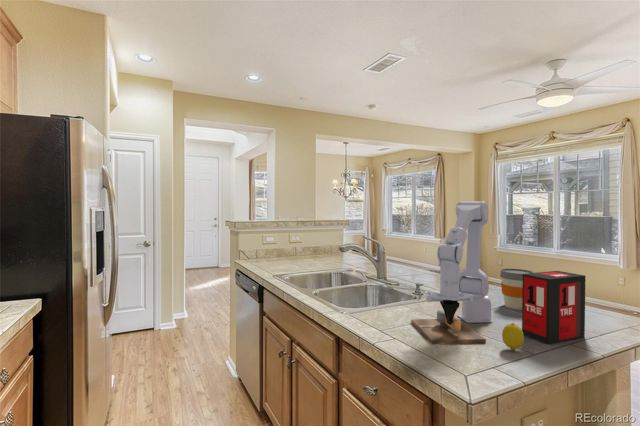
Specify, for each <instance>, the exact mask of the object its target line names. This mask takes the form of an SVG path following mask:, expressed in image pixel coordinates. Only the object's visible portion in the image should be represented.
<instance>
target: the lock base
mask: <svg viewBox="0 0 640 426" xmlns="http://www.w3.org/2000/svg"><path fill="white" fill-rule="evenodd" d="M410 322H411V324H412V325H413V327H415V328H416V329H417V331H418V332H419V333H421V334H422V336H423V337H424V338H425V339H426V340H427V341H428V342H429V343H430V344H431V345H448V344H449V345H451V344H452V345H453V344H486V343H487V338H486V337H484V336H482V335H481V334H480V333H478V332H477V331H476V330H474V329H473V328H471V327H469V326H468V325H467V324H465V323H464V322H463V321H461V331H455V330H454V329H452V328H451V327H450V326H448V325H447V324H445V323H440V322H438V321H437V318H429V319H428V318H426V319H425V318H424V319H423V318H422V319H419V318H418V319H417V318H416V319H414V318H413V319H412V318H411V319H410Z"/></svg>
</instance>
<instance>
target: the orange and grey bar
mask: <svg viewBox="0 0 640 426" xmlns="http://www.w3.org/2000/svg"><path fill="white" fill-rule="evenodd" d="M436 319H437V321H438V322H440V323H445V324H447V325H448V326H450V327H451V328H452V329H454V330H455V331H461V322H462V320H460V319H458V318H457V317H455V316H454V317H453V321H452V325H449V324H448V323H447V320H446V316H445V313H444V310H443V309H439V310H437V311H436Z"/></svg>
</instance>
